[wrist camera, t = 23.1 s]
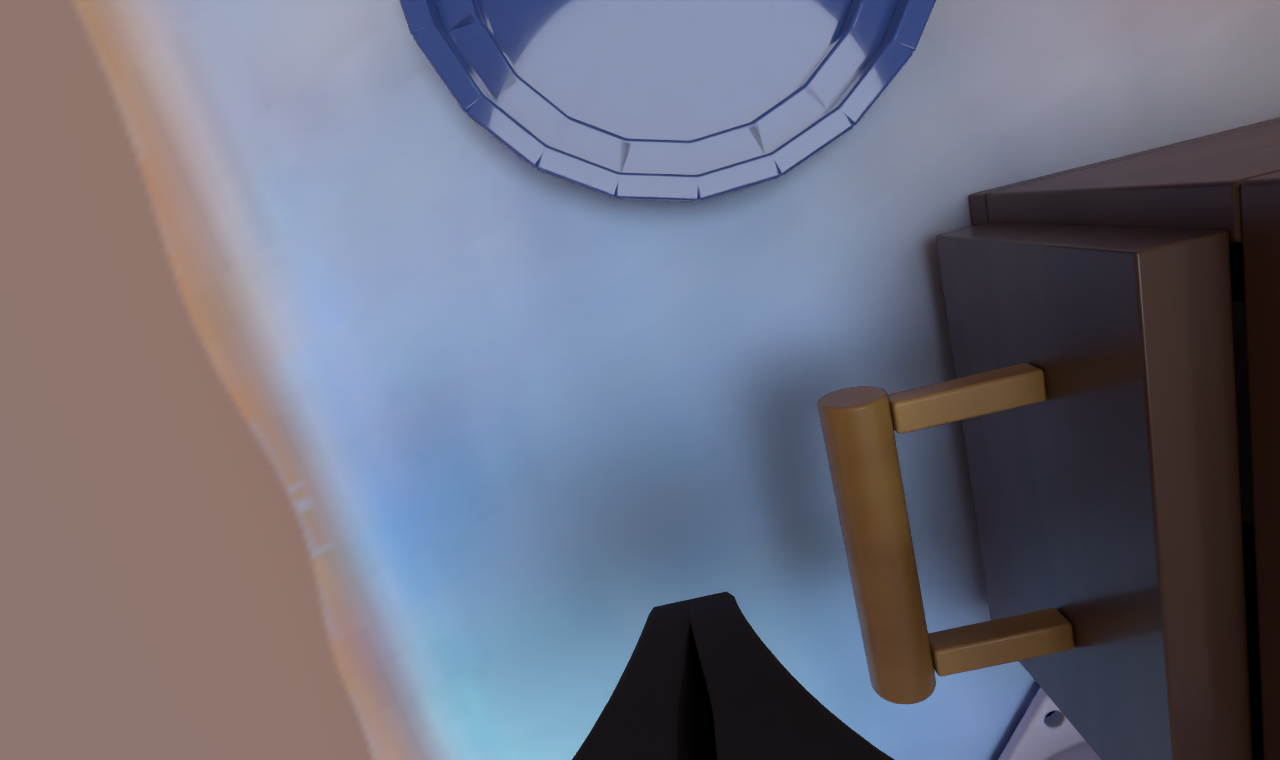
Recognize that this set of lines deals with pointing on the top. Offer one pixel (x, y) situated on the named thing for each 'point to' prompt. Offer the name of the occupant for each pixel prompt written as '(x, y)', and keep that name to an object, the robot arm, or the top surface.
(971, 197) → the cabinet
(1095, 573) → the drawer
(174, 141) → the top surface
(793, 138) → the blue saucer
